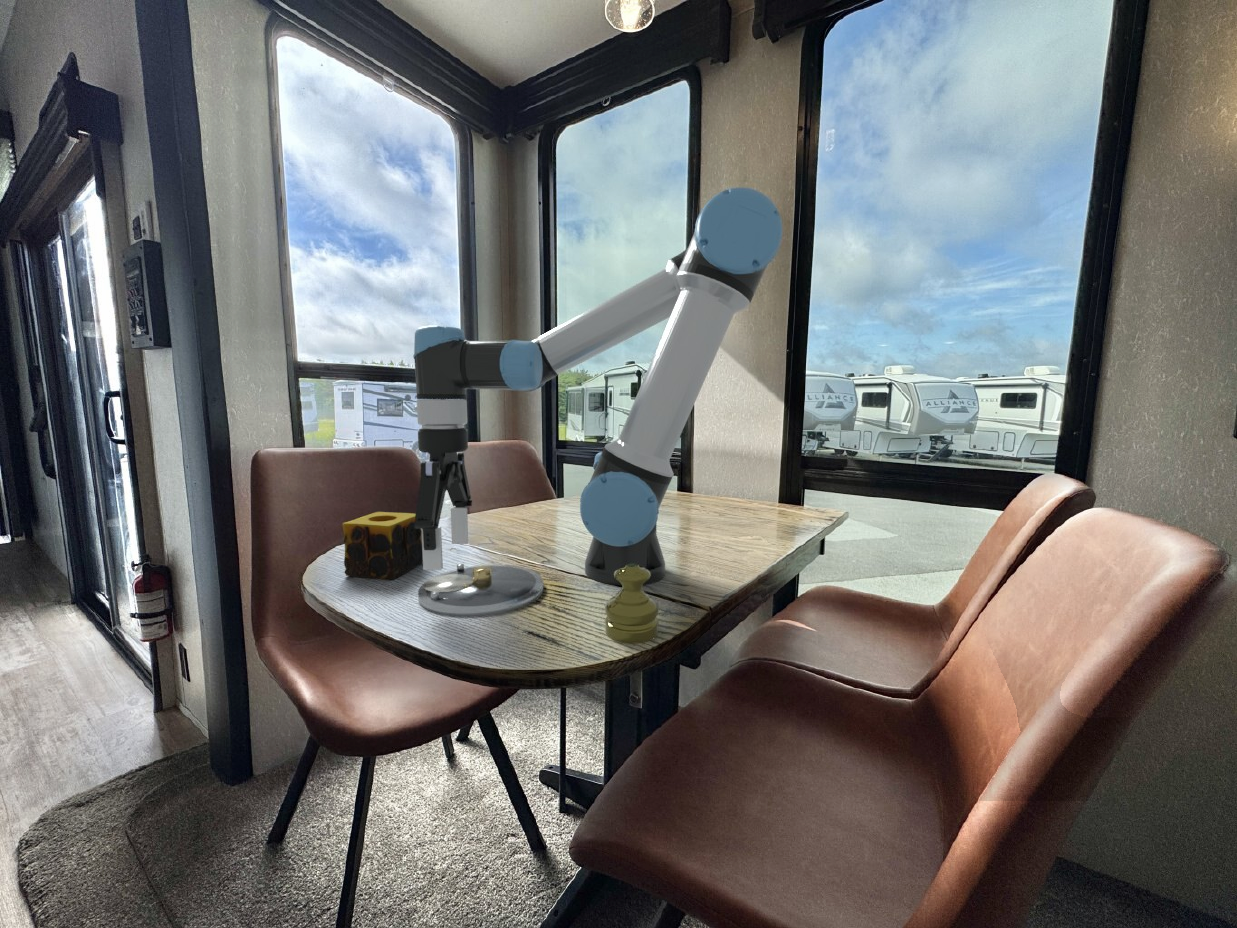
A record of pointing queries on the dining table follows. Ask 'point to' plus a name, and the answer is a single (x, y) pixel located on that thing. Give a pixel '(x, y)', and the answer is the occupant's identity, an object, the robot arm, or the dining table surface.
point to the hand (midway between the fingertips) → (447, 555)
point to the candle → (382, 545)
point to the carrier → (480, 590)
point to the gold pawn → (631, 608)
